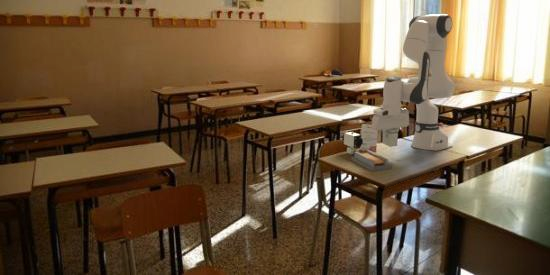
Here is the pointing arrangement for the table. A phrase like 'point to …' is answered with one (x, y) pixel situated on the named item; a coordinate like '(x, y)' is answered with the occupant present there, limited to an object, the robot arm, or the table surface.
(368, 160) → the channel rail
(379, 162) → the brown flat bar
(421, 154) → the table surface
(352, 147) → the pneumatic valve
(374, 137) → the ink cartridge box
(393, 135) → the module block
